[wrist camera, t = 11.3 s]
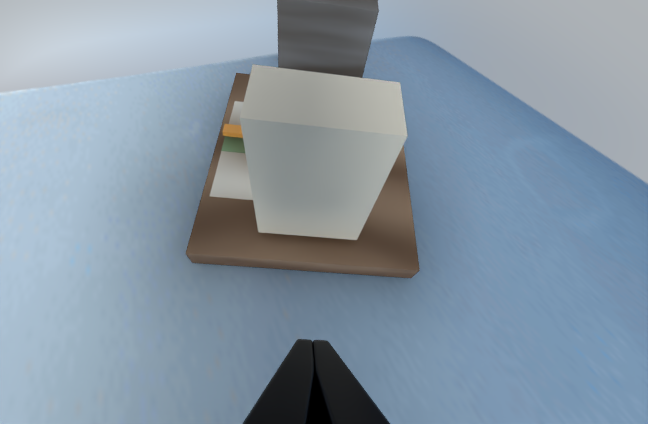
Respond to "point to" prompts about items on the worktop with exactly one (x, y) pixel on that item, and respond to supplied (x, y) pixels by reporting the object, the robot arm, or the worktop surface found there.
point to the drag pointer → (232, 130)
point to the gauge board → (233, 177)
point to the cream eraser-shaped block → (319, 149)
